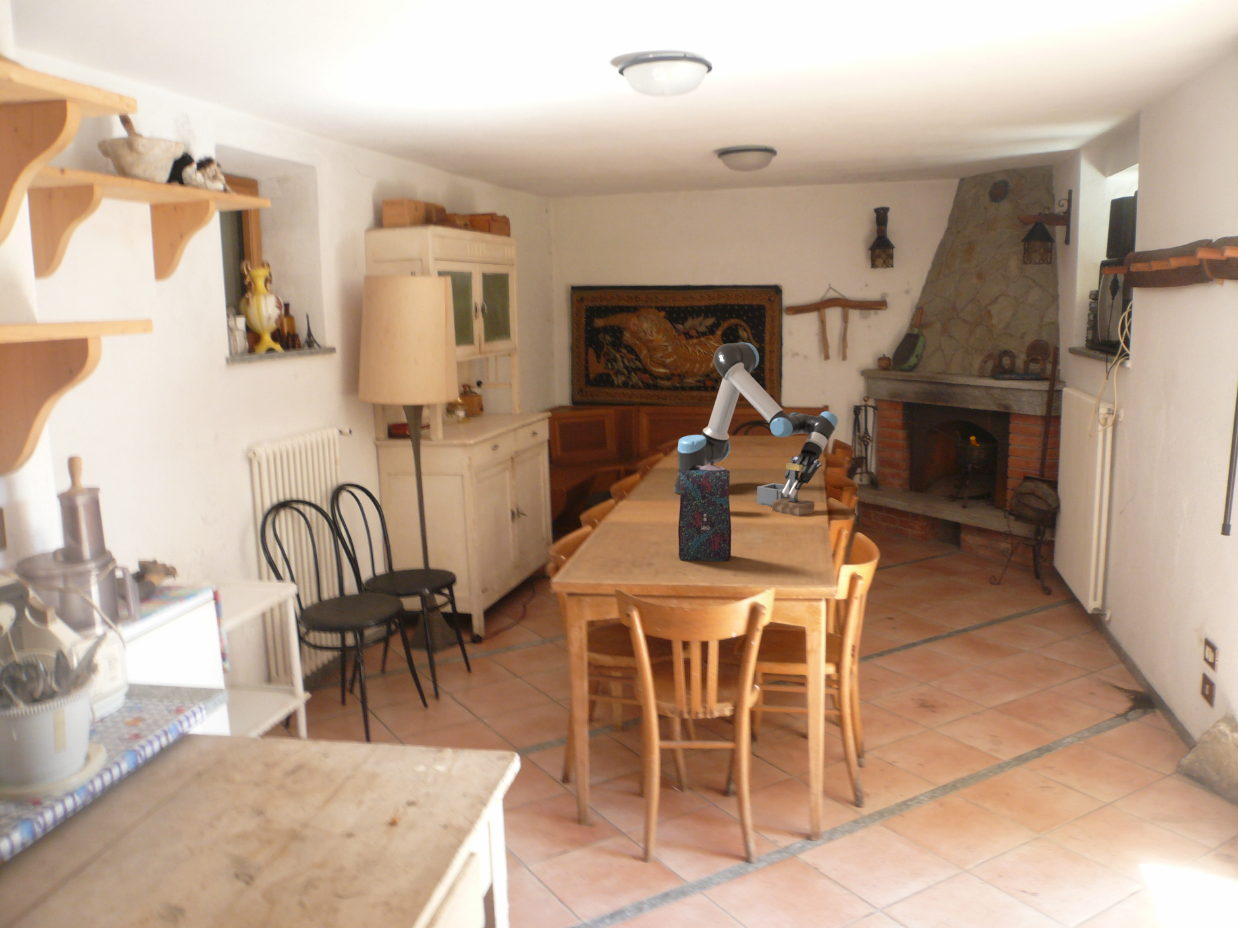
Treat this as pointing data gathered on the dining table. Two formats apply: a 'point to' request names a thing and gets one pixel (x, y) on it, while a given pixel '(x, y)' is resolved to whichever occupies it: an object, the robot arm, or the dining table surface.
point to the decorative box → (704, 515)
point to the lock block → (793, 506)
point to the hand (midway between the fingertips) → (787, 495)
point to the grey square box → (770, 493)
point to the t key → (793, 478)
